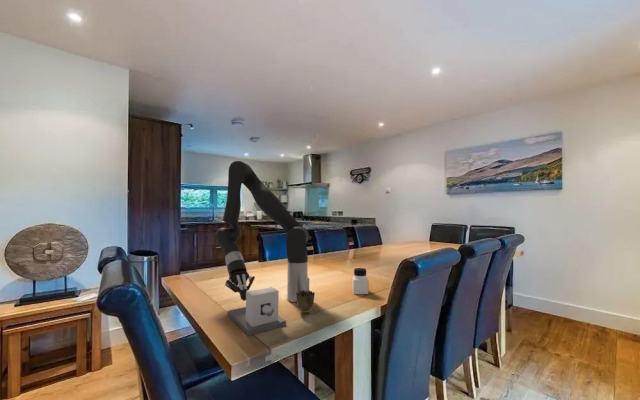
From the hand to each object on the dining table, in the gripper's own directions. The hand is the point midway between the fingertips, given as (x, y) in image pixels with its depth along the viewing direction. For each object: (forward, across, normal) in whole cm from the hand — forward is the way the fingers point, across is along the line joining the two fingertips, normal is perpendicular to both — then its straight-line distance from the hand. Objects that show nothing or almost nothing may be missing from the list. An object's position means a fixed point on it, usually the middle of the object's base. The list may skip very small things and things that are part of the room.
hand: (245, 299), depth 113 cm
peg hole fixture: (+10, 0, -4) cm, 11 cm away
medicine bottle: (+10, +56, -2) cm, 57 cm away
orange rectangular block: (+14, 0, -10) cm, 17 cm away
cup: (+14, +19, -7) cm, 25 cm away
